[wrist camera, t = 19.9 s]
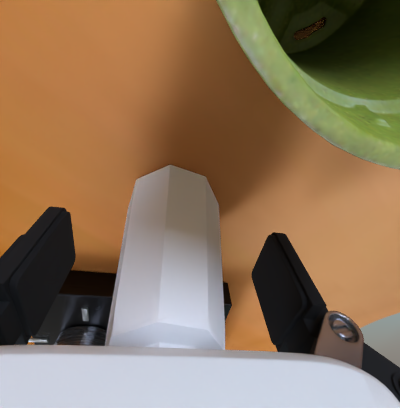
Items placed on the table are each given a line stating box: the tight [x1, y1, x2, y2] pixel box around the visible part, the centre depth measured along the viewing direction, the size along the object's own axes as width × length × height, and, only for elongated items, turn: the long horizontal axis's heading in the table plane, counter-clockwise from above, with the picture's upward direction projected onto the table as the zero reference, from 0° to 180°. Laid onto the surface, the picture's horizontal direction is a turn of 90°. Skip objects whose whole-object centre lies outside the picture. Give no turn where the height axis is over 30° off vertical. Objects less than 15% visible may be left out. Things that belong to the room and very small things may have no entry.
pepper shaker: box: [105, 165, 225, 350], centre depth 9 cm, size 5×5×11 cm
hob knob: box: [54, 326, 107, 346], centre depth 16 cm, size 4×4×5 cm
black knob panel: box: [28, 270, 232, 345], centre depth 19 cm, size 14×11×2 cm
